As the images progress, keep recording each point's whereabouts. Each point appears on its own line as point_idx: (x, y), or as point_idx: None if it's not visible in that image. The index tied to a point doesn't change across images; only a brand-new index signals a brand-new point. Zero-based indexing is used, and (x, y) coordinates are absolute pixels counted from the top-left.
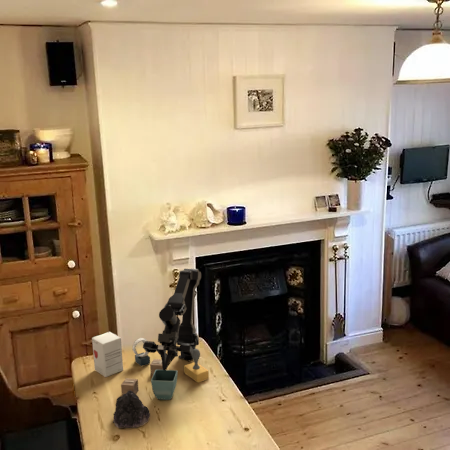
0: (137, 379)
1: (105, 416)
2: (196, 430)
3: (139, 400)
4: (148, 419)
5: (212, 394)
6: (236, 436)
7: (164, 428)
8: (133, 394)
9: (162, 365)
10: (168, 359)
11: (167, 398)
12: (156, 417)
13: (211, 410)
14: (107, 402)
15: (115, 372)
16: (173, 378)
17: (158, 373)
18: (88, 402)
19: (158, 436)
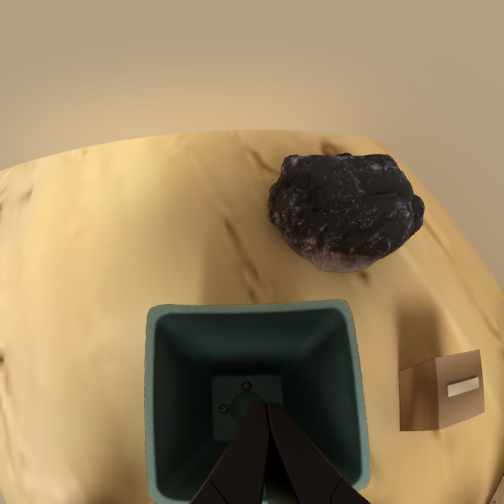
0: (439, 425)
1: (418, 232)
2: (100, 185)
3: (321, 157)
4: (268, 206)
5: (30, 411)
6: (23, 182)
7: (199, 183)
8: (368, 172)
9: (300, 431)
10: (205, 496)
11: (224, 367)
12: (243, 235)
13: (38, 290)
14: (459, 310)
15: (498, 490)
16: (201, 478)
17: None
18: (494, 298)
19: (212, 154)
